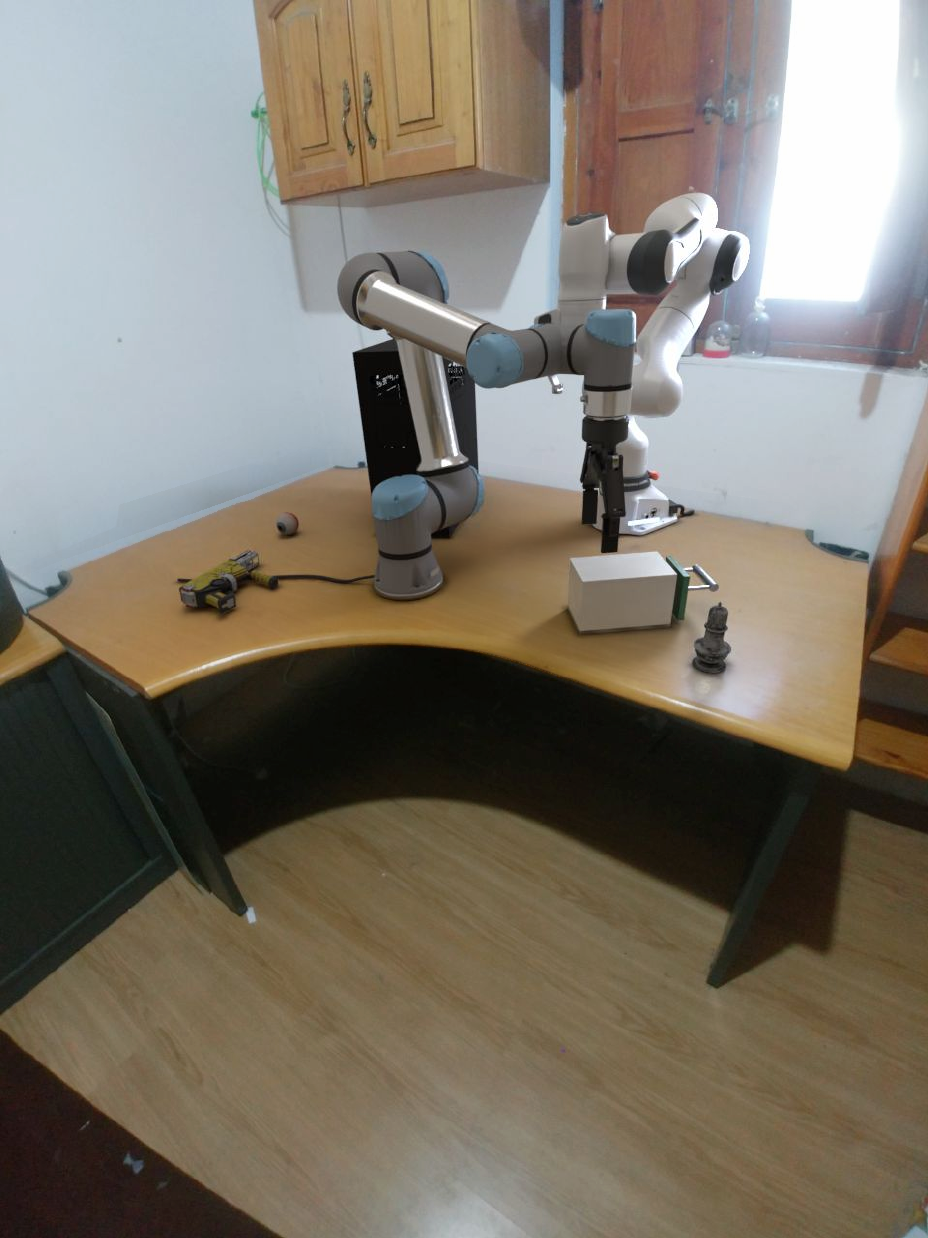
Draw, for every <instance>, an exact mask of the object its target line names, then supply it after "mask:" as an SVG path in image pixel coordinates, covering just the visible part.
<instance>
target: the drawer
mask: <svg viewBox="0 0 928 1238" xmlns="http://www.w3.org/2000/svg"><path fill="white" fill-rule="evenodd" d="M665 561H666V562H667V563H668V565H669V566H670V567H671V568H672V569H673V570H674V571H675V573H676V574H677V579H676V586H675V593H674V601H673V608H672V615H673V616H674V618H675V619H676V621H678V622H679V621H684V620H685V614H686V613H685V612H686V608H687V601H688V593H689V592H693V591H704V590H709V591H710V592H711V593H715V592H717V591H718V590H719V588H720V586H719V584H718V583H717V582H716V580H714V579H713V578H712V577H711V576H710V574H708V573H707V572H706V571H705V570H704V569H703V568H702V566H700V565H699V564H694V565H692V566H691V567H685V568H684V567H682V565H681V564H680V563H679V562H678V561H677V560H676V559H675V558H674V557H673V556H672V555H669V556H665ZM690 573H693V574H694V575H695V576H696V577H697V578H698V579H699V580H700V581H701V583H702V584H703V585H694V586H693V585H692V586H690V581H691V575H690Z"/></svg>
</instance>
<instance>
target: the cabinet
mask: <svg viewBox="0 0 928 1238" xmlns="http://www.w3.org/2000/svg"><path fill="white" fill-rule="evenodd" d="M568 564H569V566H568V567H569V568H568V592H567V595H568V596H567V611H568V612H569V615H570V617H571V618H572V621H573V623H574V625H575V628H576V630H577V632H578V634H579V635H580V636H581V635H590V634H591V635H592V634H593V635H594V634H603V633H604V634H605V633H617V632H628V631H629V632H630V631H641V630H643V631H644V630H652V629H664V628H665V629H667V628H670V627H671V621H672V615H673V614H672V608H673V601H674V593H675V586H676V579H677V574H676V573H675V571H674V570H673V569H672V568H671V567H670V566H669V565H668V563H667V562H666V559H665V558H664V557H663V556H662V555H661V554H660V553H659V552H658V551H647V552H633V553H632V552H631V553H622V554H621V553H619V554H607V555H593V556H582V557H581V556H580V557H579V556H578V557H570V558H569V563H568Z"/></svg>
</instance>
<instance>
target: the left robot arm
mask: <svg viewBox="0 0 928 1238" xmlns="http://www.w3.org/2000/svg"><path fill="white" fill-rule="evenodd" d="M336 289H337V290H336V291H337V292H336V293H337V298H338V301H339V304H340V306H341V308H342V310H343V311H344V313H345V314H346V315H347V316H348V317H349V318H350V319H351V320H352V321H354V322H355V323H357V324H358V325H361V326H362V327H364V328H366V329H369V330H371V331H381V330H385V331H386V335H387V336H389V337H390V338H391V339H394V340H395V341H396V343H397V348H398V352H399V357H400V362H401V367H402V371H403V376H404V381H405V385H406V390H407V395H408V400H409V404H410V409H411V414H412V418H413V423H414V428H415V433H416V437H417V442H418V447H419V451H420V456H421V462H420V463H419V465H418V467H417V468H416V471H417V475H403V476H400V477H399V476H396V477H392V478H389V479H387V480H385V481H383V482H381V483H380V484H378V485H377V486H376V487H375V489H374V490H373V493H372V497H371V514H372V515H373V522H374V529H375V537H376V538H375V539H376V544H377V545H376V546H377V551H378V552H377V553H378V558H377V563H376V568H375V572H374V574H371V575H370V574H369V575H364V576H359V577H355V578H349V579H340V578H334V577H330V576H325V575H320V574H319V575H318V574H277V575H269V576H270V577H271V576H272V577H276V578H277V579H298V578H299V579H300V578H301V579H303V578H304V579H305V578H306V579H319V580H326V581H330V582H335V583H342V584H348V583H355V582H360V581H364V580H371V579H373V585H374V591H375V592H376V593H377V594H378V595H379V596H381V597H382V598H385V599H388V600H394V601H413V600H419V599H424V598H425V597H429V596H431V595H433V594H435V593H436V592H438V591H439V590H440V589H441V588H442V587H443V585H444V577H443V572H442V569H441V567H440V564H439V563H438V561H437V558H436V555H435V553H434V551H433V544H432V537H431V533H433V532H436V531H438V530H441V529H443V528H446V527H448V526H451V525H453V524H456V523H458V522H459V523H463V522H465V521H466V520H468V519H469V518H471V517H473V516H475V515H477V514H478V513H479V511H480V509H481V508H482V506H483V504H484V501H485V493H486V490H485V483H484V479H483V476H482V475H481V474H477V473H478V471H477V470H476V469H475V468H474V467H472V466H470V465H469V461H468V458H467V457H465V456H464V455H463V454H461V452H460V451H459V446H458V440H457V435H456V430H455V424H454V419H453V414H452V408H451V403H450V398H449V393H448V387H447V382H446V377H445V371H444V366H443V361H442V357H444V358H446V359H448V360H450V361H453V363H454V364H455V363H457V364H458V366H460V365H461V366H463V367H465V368H467V369H468V372H469V375H470V377H472V378H473V380H474V381H475V385H476V386H478V387H480V388H482V389H486V390H487V389H490V390H491V389H503V388H507V387H509V386H512V385H516V384H520V383H524V382H528V381H531V380H538V379H541V378H545V377H548V376H550V375H555V374H557V375H573V376H583V380H584V396H582V395H581V396H580V397H579V401H580V402H581V403H582V413H583V415H585V416H584V417H583V418H582V419H581V440H582V441H583V442H585V452H584V457H583V461H582V467H581V472H580V476H579V477H580V478H579V483H580V484H581V488H582V501H581V502H582V504H581V506H582V507H581V525H582V526H586V525H592V524H597V507H598V497H599V488H600V487H599V486H600V482H599V480H600V481H601V487H602V495H603V502H604V509H605V513H603V514H602V515H601V518H603V524H602V530H601V542H600V553H601V554H613V553H618V551H619V538H620V534H619V527H620V517H625V516H626V510H625V495H624V480H623V459H624V457H623V455H622V454H620V455H618V453H616V445H617V444H618V443H622V442H624V441H625V440H627V438H628V429H629V418H628V417H627V416H626V415H628V414H629V413H630V409H631V396H632V387H631V386H632V372H633V366H634V360H635V350H636V345H637V315H636V313H635V312H634V311H633V310H632V309H628V308H615V309H613V308H612V309H611V308H610V309H606V310H595V311H591V312H589V313H588V315H587V319H586V324H581V325H576V324H554V323H546V324H535V325H534V324H532V325H530V326H528V328H522V329H521V328H520V329H513V330H512V329H511V330H510V329H507V328H504V327H501V326H500V325H496V324H494V323H492V322H490V321H487V320H485V319H482V318H481V317H478V316H476V315H473V314H471V313H468V312H466V311H464V310H461V309H458V308H456V307H454V306H451V305H449V304H448V300H449V299H450V285H449V279H448V276H447V273H446V271H445V269H444V267H443V266H442V264H441V263H440V262H439V260H437V259H436V258H435V257H434V256H433V255H432V254H430V253H427V252H423V251H415V250H409V249H408V250H404V251H385V252H383V251H382V252H364V253H363V252H362V253H360V254H357V255H355V256H353V257H352V258H350V259H349V260H348V261H347V262H346V263H345V264H344V265H343V267H342V269H341V270H340V273H339V275H338V278H337V285H336ZM457 364H456V365H457ZM614 509H616V510H614ZM193 579H194V578H177V582H181V583H187V582H189V581H191V580H193ZM248 581H250V582H251V581H252V580H251V579H250V580H248ZM248 581H247V582H248Z"/></svg>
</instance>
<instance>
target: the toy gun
mask: <svg viewBox="0 0 928 1238" xmlns="http://www.w3.org/2000/svg"><path fill="white" fill-rule="evenodd" d="M255 558H257V561H256V562H255V561H254V560H255ZM259 565H260V557H259V552H258V551H256V550H253V551H252V550H251V549H246V550H245V551H243V552H242V553H240V554H238V555H236V556H234V557H233V558H229V559H227V560H226V561H223V562H222V563H220V564H219V565H217V566H215V567H213V568H211V569H209V570H208V571H205V572H203V573H202V574H199V576H196V577H194V578H192V579H193V580H191V581H189V582H185V583H184V584H182V585H180V586H179V587H178V592H179V597H180V601H181V602H182V604H183V605H185V607H186V608H189V609H193V608H204V607H205V608H206V607H208V606H213V607H214V608H217V609H218V612H219V615H223V614H225V613H227V612H229V611H231V610H233V609H235V608H237V603H236V594H235V592H237V591H238V587H239V586H240V585H243V584H245V583H248V580H250V579H251V581H255V582H256V583H259V584H262V585H264V586H268V587H269V588H271V589H275V588H276V587H278V585H279V578H276V577H272V576H273V575H270V574H266V573H263V572H261V571H258V570H255V569H254V568H255V567H258V566H259ZM253 569H254V570H253ZM250 570H252V571H251V572H250V573H249V571H250ZM270 576H271V577H270Z"/></svg>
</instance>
